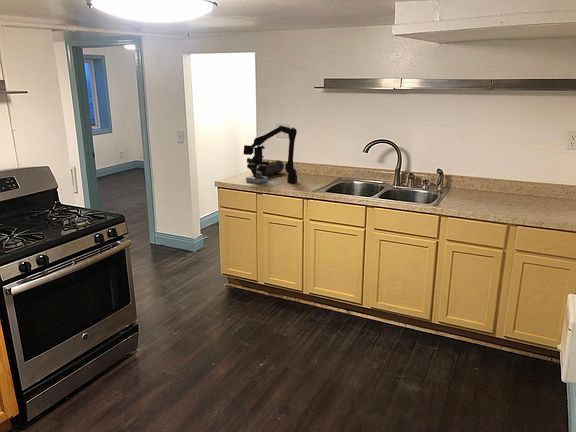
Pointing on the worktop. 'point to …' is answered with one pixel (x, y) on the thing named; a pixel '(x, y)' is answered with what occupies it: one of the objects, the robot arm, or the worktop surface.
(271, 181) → the mat
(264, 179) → the outlet block
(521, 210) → the worktop surface
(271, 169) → the muzzle brake
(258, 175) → the plug
